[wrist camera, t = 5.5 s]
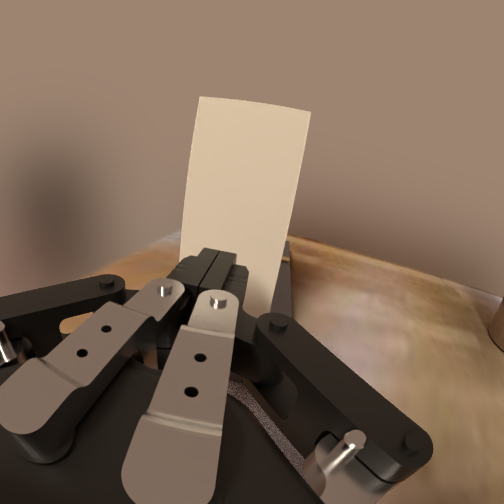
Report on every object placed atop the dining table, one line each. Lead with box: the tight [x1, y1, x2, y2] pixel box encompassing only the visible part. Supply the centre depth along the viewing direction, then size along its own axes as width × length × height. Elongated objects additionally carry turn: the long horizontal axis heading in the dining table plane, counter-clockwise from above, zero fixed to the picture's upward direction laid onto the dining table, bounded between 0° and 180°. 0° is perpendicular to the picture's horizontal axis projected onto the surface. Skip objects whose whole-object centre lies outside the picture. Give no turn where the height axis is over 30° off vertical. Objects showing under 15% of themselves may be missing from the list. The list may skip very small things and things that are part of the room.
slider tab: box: [179, 97, 311, 318], centre depth 16 cm, size 4×6×14 cm, turn 84°
